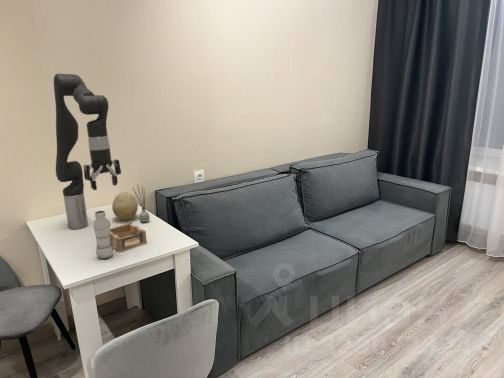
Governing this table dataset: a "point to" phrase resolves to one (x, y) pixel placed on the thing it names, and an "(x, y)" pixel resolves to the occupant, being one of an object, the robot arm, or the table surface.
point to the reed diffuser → (143, 209)
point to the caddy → (127, 237)
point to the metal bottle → (102, 235)
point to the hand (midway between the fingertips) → (105, 187)
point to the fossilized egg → (124, 206)
